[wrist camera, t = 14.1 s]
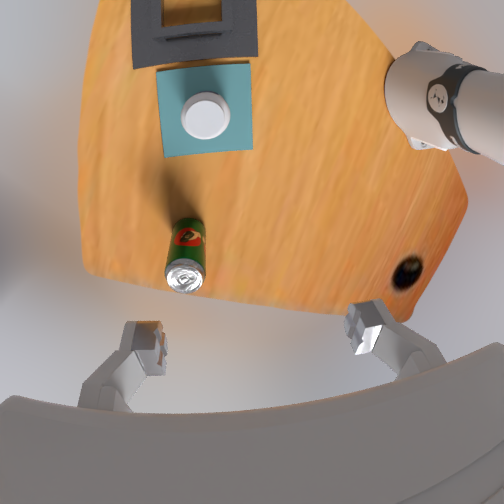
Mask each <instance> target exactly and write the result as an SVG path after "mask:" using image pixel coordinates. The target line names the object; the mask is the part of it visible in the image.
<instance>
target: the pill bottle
mask: <svg viewBox="0 0 504 504" xmlns="http://www.w3.org/2000/svg"><path fill="white" fill-rule="evenodd" d="M229 121H230V109H229V106H228V104H227V102H226V101H225V100H224V98H223V97H222V96H221V95H219V94H218V93H216V92H213V91H201V92H198V93H196V94H194V95H193V96H192V97H190V98H189V99H188V100H187V101H186V103H185V104H184V106H183V108H182V111H181V123H182V126H183V128H184V129H185V131H186V132H187V133H188V134H190V135H191V136H193V137H195V138H198V139H211V138H214V137H217V136H218V135H220V134H221V133H222V132H223V131H224V130H225V129H226V128H227V126H228V124H229Z"/></svg>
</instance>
